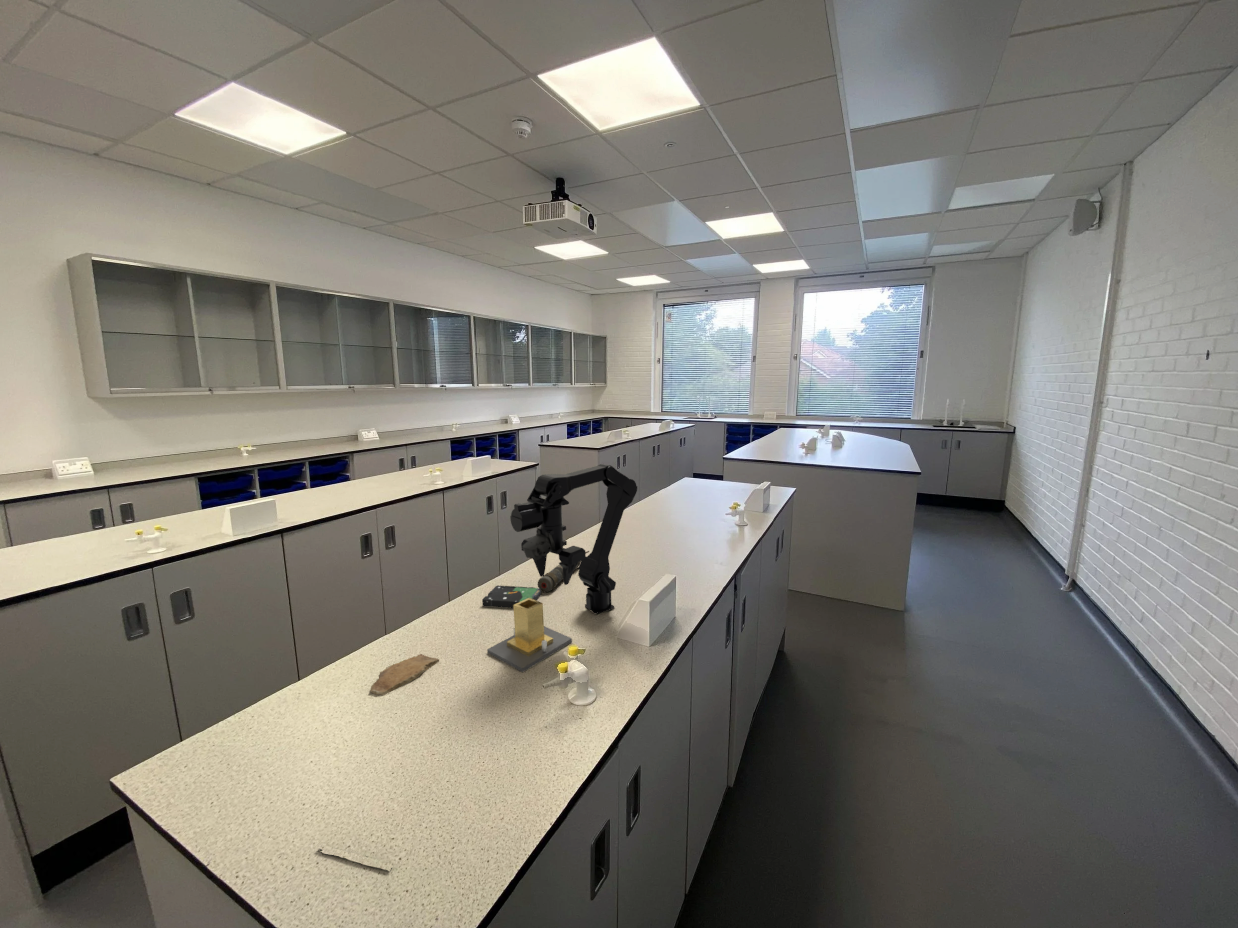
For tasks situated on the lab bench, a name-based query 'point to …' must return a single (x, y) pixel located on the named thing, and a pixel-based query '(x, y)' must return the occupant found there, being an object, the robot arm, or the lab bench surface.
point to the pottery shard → (401, 673)
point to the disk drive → (509, 596)
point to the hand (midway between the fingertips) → (553, 580)
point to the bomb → (552, 578)
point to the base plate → (525, 662)
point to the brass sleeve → (528, 627)
